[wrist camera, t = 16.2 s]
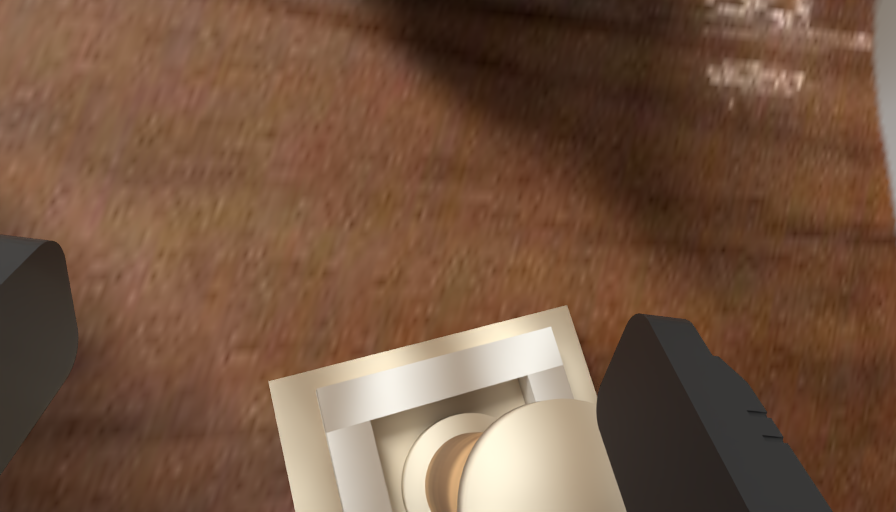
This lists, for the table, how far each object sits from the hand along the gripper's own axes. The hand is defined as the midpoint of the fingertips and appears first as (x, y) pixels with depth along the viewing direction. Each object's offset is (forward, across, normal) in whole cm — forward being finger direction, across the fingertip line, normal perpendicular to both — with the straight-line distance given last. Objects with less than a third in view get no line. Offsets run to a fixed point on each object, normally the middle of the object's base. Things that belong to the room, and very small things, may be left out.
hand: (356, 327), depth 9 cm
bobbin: (+12, -6, +18) cm, 23 cm away
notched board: (+13, -6, +20) cm, 24 cm away
